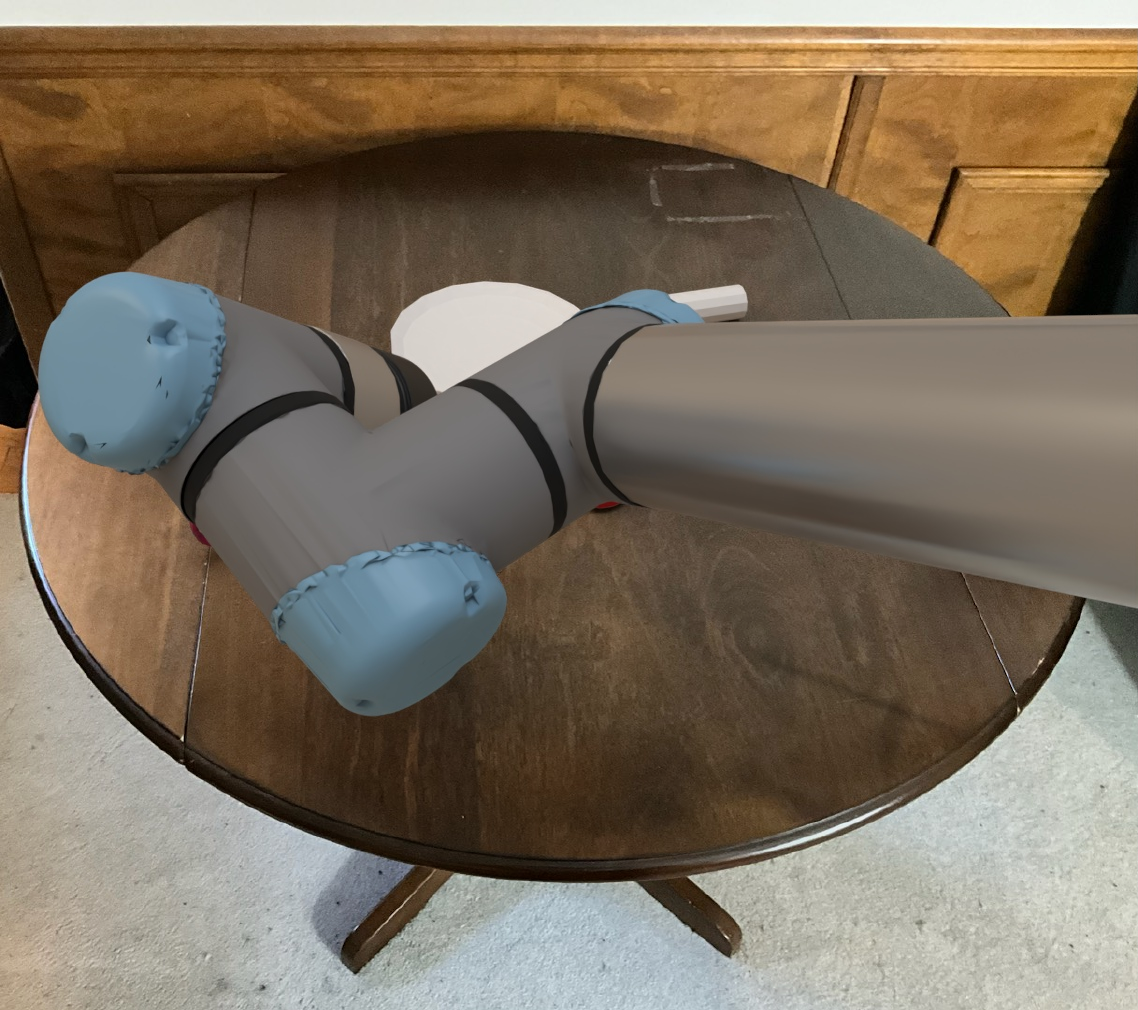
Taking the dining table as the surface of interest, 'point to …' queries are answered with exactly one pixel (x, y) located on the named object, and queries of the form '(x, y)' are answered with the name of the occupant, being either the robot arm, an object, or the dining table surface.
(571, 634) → the dining table surface
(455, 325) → the frying pan
